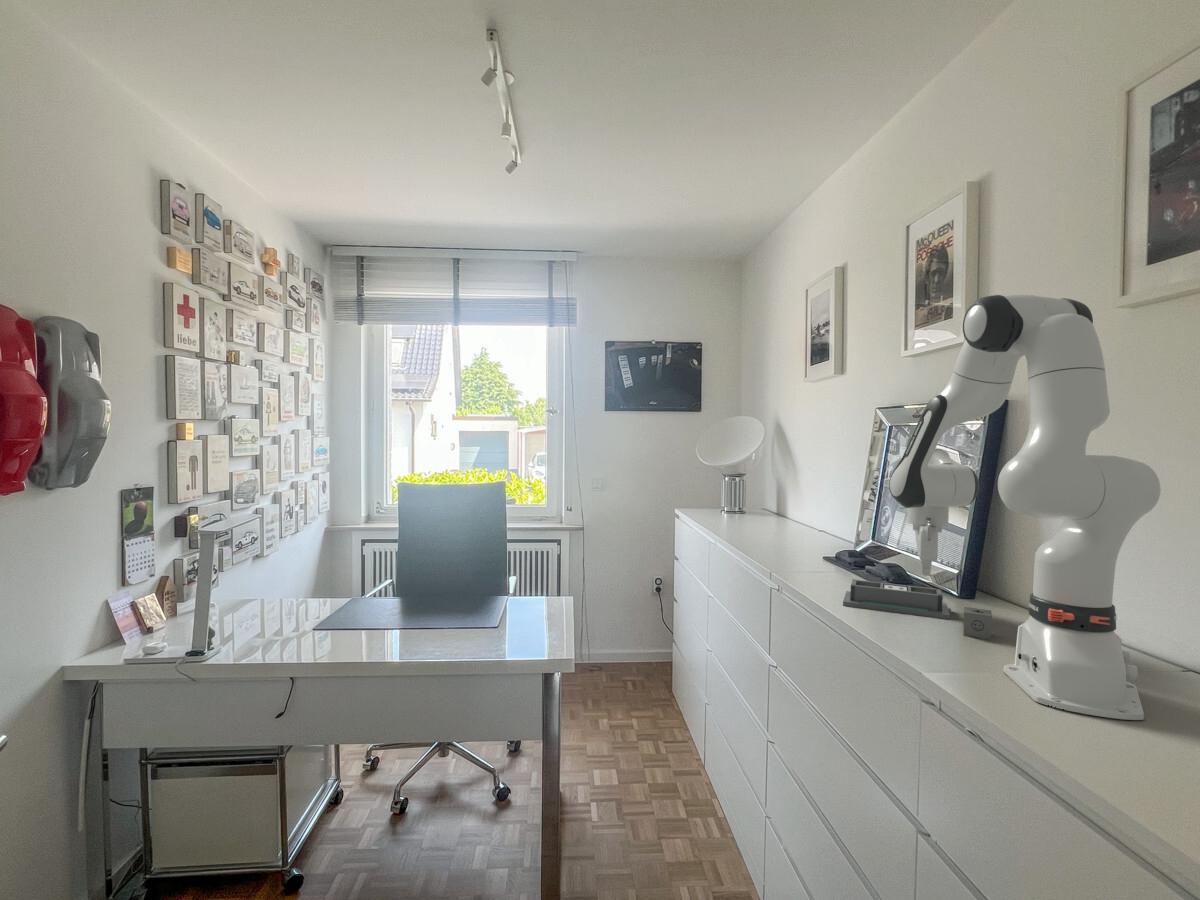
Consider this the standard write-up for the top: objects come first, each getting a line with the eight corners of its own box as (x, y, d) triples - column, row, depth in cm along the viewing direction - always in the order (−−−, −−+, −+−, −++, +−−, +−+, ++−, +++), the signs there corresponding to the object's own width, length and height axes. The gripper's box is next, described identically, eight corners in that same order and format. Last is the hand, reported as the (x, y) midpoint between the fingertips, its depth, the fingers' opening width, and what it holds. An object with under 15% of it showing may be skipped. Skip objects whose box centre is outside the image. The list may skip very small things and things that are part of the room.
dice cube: (963, 635, 138) (964, 612, 137) (963, 629, 142) (964, 606, 142) (990, 640, 135) (992, 616, 135) (989, 633, 140) (991, 610, 139)
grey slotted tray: (949, 619, 150) (950, 598, 149) (842, 605, 159) (843, 586, 159) (946, 607, 160) (946, 588, 160) (846, 594, 170) (846, 576, 170)
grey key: (906, 599, 156) (907, 590, 156) (883, 596, 158) (884, 588, 158) (906, 594, 161) (906, 586, 161) (884, 591, 163) (884, 584, 163)
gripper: (945, 522, 146) (943, 584, 146) (939, 514, 164) (938, 569, 164) (914, 520, 148) (912, 580, 148) (912, 512, 167) (910, 566, 167)
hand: (925, 574), depth 156 cm, fingers closed
